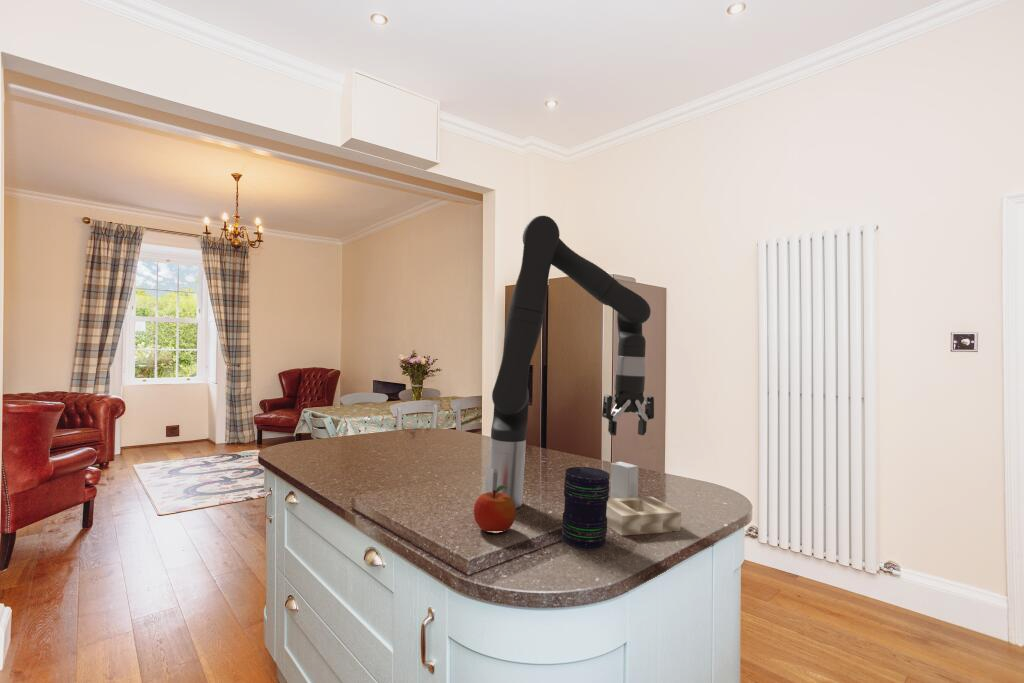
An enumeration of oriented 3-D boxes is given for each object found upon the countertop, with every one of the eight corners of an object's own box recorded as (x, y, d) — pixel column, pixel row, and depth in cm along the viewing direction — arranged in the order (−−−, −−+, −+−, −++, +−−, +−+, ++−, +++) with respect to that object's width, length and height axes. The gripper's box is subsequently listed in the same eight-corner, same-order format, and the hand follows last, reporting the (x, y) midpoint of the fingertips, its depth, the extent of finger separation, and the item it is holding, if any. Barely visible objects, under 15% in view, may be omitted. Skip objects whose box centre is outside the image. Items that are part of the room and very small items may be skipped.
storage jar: (615, 545, 109) (619, 476, 109) (581, 553, 104) (585, 480, 104) (585, 529, 118) (589, 465, 118) (551, 536, 112) (555, 469, 112)
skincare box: (637, 511, 132) (640, 465, 132) (627, 514, 129) (629, 467, 129) (619, 505, 137) (621, 460, 137) (608, 507, 134) (611, 462, 134)
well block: (621, 535, 115) (622, 515, 115) (596, 517, 126) (597, 499, 126) (680, 531, 120) (681, 512, 120) (651, 513, 131) (652, 496, 131)
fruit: (466, 524, 116) (468, 481, 116) (504, 521, 120) (506, 479, 120) (481, 540, 107) (483, 494, 107) (521, 536, 111) (524, 490, 111)
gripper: (613, 374, 127) (610, 438, 127) (661, 375, 132) (658, 437, 132) (599, 371, 134) (596, 432, 134) (645, 373, 139) (642, 432, 139)
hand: (627, 435), depth 133 cm, fingers open, 8 cm apart
